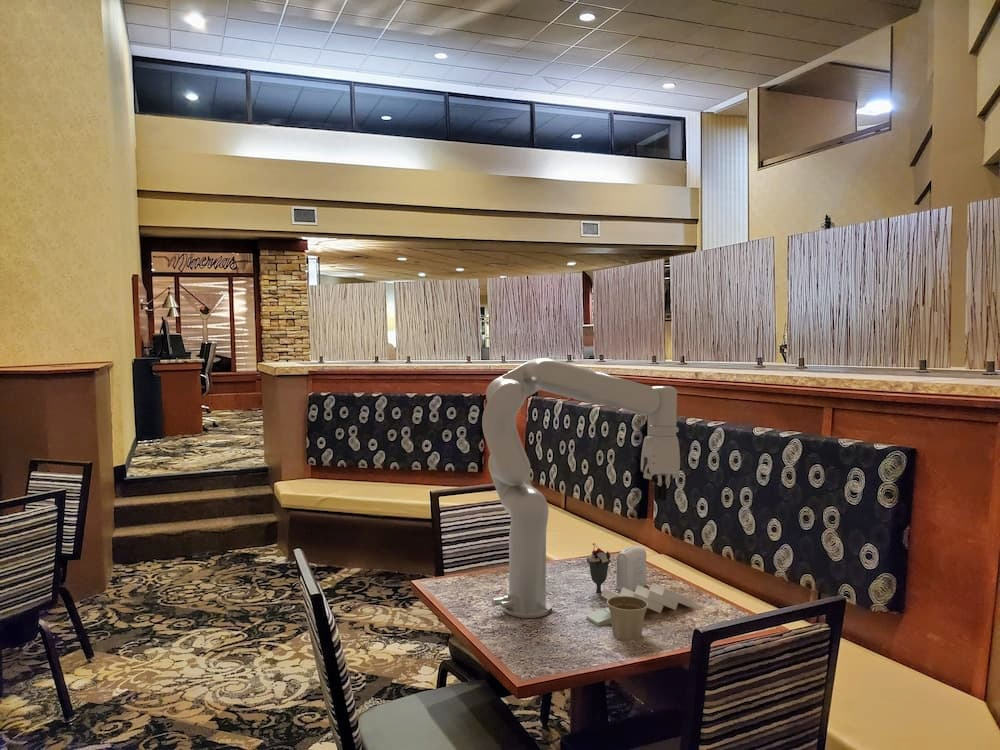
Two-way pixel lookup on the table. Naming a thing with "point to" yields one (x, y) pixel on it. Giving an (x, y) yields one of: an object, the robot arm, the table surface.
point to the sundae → (599, 567)
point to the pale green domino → (600, 617)
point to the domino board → (670, 611)
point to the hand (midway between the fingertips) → (660, 499)
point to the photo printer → (631, 568)
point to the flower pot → (627, 616)
